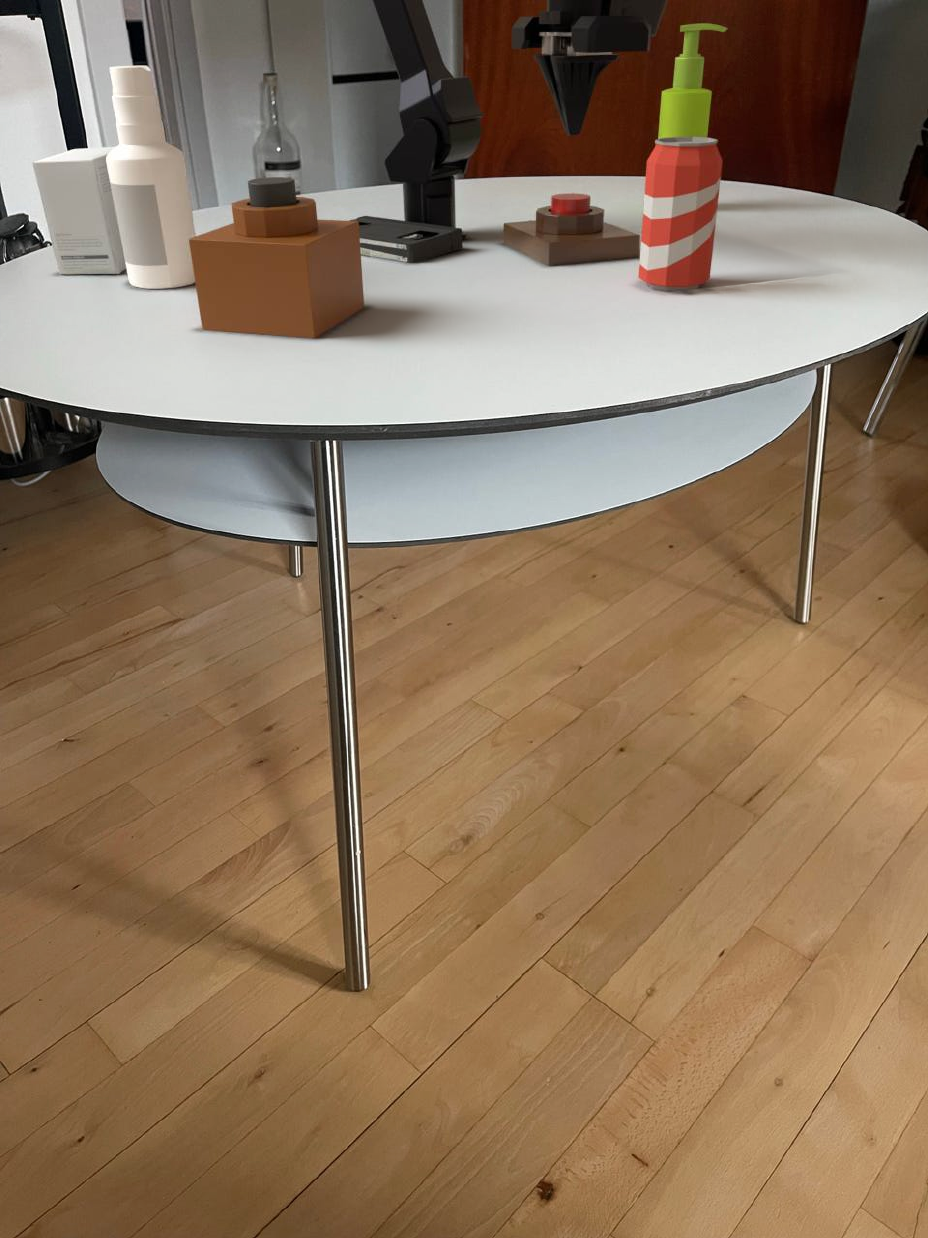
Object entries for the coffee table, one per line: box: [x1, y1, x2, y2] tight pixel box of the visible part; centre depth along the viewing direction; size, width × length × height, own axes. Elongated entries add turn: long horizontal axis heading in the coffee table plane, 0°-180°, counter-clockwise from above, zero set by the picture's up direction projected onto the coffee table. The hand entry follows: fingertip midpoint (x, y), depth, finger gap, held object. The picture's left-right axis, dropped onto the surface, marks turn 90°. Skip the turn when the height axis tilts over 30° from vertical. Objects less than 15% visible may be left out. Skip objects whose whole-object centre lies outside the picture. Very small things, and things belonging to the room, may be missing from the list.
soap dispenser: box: [657, 22, 728, 139], centre depth 120 cm, size 6×7×20 cm
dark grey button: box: [247, 176, 297, 207], centre depth 77 cm, size 4×4×2 cm
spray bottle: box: [106, 65, 197, 290], centre depth 90 cm, size 7×7×18 cm
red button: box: [550, 192, 591, 214], centre depth 102 cm, size 4×4×2 cm
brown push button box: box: [189, 196, 365, 339], centre depth 80 cm, size 10×10×9 cm
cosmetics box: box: [31, 146, 127, 275], centre depth 99 cm, size 10×6×10 cm, turn 177°
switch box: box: [503, 205, 641, 267], centre depth 103 cm, size 12×10×4 cm
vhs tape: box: [348, 215, 464, 264], centre depth 106 cm, size 14×8×2 cm, turn 50°
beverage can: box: [638, 137, 724, 293], centre depth 87 cm, size 6×6×12 cm
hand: (573, 134), depth 98 cm, fingers closed
